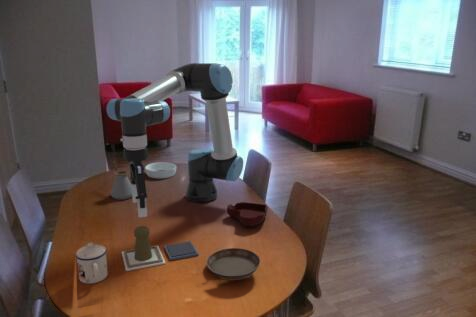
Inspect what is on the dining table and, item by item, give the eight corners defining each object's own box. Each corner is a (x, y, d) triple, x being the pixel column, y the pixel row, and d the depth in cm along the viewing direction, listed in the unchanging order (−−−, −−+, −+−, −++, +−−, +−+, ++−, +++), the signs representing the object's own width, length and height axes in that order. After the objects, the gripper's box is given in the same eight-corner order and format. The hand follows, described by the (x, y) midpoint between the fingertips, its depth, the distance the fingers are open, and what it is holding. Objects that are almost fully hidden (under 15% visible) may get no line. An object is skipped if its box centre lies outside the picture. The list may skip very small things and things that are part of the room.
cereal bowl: (150, 185, 218) (149, 172, 216) (142, 176, 232) (141, 164, 230) (181, 180, 225) (180, 168, 224) (171, 172, 240) (170, 160, 238)
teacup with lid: (76, 273, 133) (72, 240, 130) (105, 266, 137) (102, 234, 134) (82, 292, 123) (78, 257, 120) (113, 284, 127) (110, 250, 124)
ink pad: (191, 243, 153) (191, 240, 153) (198, 255, 144) (198, 252, 144) (164, 247, 150) (164, 244, 149) (170, 260, 141) (170, 257, 140)
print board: (158, 246, 150) (158, 244, 150) (165, 263, 139) (165, 260, 138) (121, 253, 146) (121, 250, 146) (125, 271, 134) (125, 268, 134)
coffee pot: (138, 199, 197) (136, 169, 193) (113, 204, 192) (111, 173, 188) (126, 186, 215) (124, 159, 211) (104, 190, 210) (101, 162, 206)
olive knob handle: (148, 261, 139) (146, 232, 136) (131, 260, 140) (129, 230, 137) (155, 253, 145) (153, 224, 142) (138, 251, 146) (136, 223, 143)
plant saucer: (218, 289, 125) (217, 280, 124) (199, 262, 141) (199, 253, 140) (269, 276, 132) (269, 267, 131) (246, 251, 147) (246, 244, 147)
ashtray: (278, 222, 172) (278, 211, 171) (245, 231, 164) (245, 219, 162) (255, 208, 187) (255, 198, 185) (223, 215, 179) (223, 205, 177)
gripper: (119, 140, 142) (123, 197, 147) (128, 158, 119) (133, 225, 125) (141, 138, 144) (145, 195, 150) (153, 155, 122) (157, 221, 128)
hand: (139, 209), depth 138 cm, fingers open, 13 cm apart
